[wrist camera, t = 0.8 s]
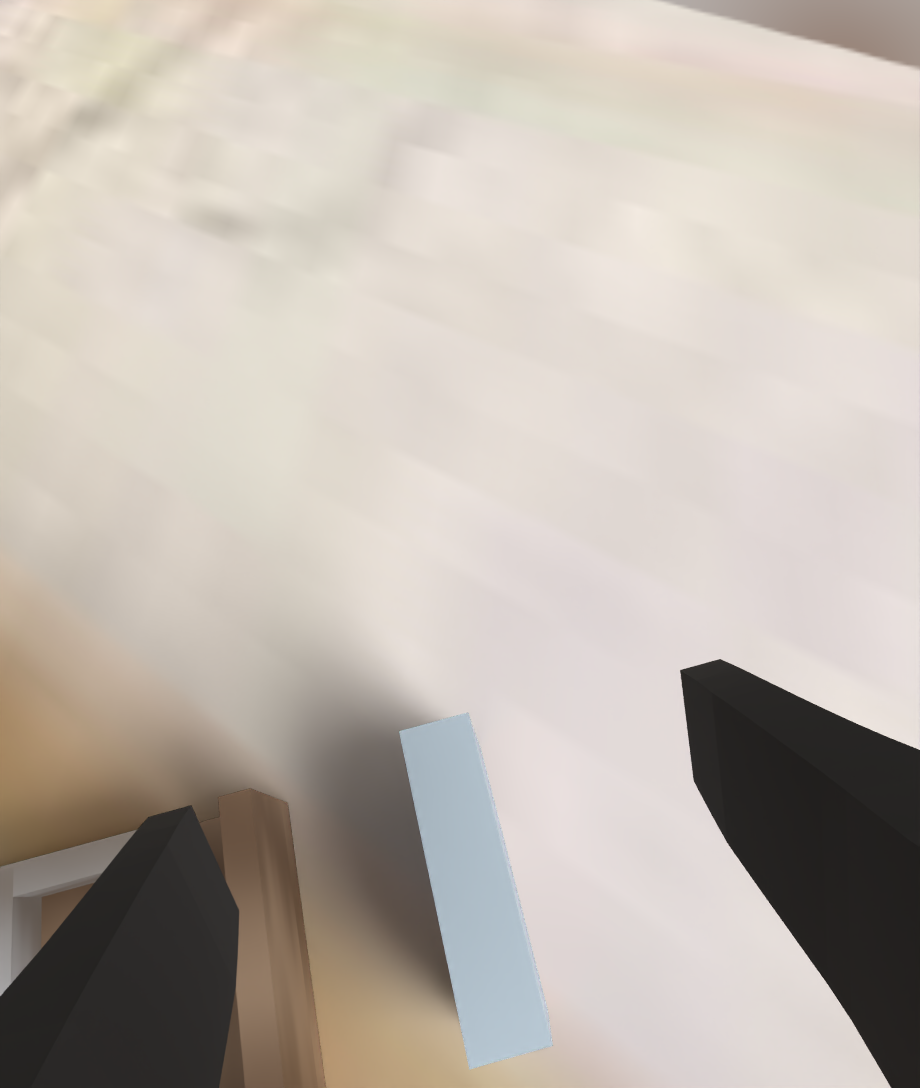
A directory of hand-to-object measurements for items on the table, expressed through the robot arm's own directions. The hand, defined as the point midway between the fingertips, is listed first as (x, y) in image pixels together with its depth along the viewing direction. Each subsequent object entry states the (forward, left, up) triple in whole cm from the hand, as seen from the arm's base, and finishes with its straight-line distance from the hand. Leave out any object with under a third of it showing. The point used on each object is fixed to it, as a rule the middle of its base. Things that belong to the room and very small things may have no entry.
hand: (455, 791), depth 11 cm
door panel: (-1, +1, -16) cm, 16 cm away
